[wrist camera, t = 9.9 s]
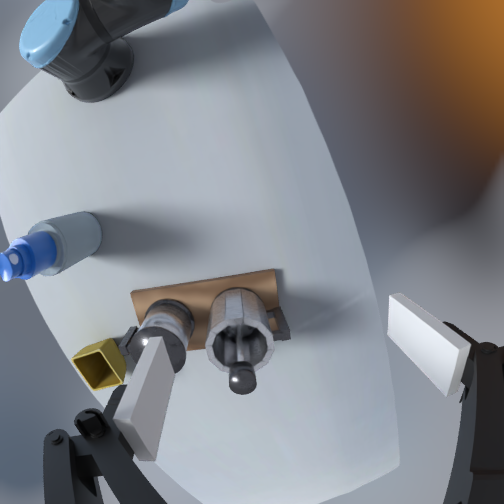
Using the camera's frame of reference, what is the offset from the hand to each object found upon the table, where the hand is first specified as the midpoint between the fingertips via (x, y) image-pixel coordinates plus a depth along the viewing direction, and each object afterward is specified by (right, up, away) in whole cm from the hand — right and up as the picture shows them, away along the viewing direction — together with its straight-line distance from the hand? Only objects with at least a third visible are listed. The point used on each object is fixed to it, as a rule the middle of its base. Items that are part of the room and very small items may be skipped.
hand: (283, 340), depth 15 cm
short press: (-19, -9, +39) cm, 44 cm away
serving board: (-10, -7, +41) cm, 43 cm away
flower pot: (-33, -17, +41) cm, 56 cm away
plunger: (-4, -7, +36) cm, 37 cm away
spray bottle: (-35, +8, +35) cm, 51 cm away
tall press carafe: (-3, -6, +40) cm, 40 cm away
